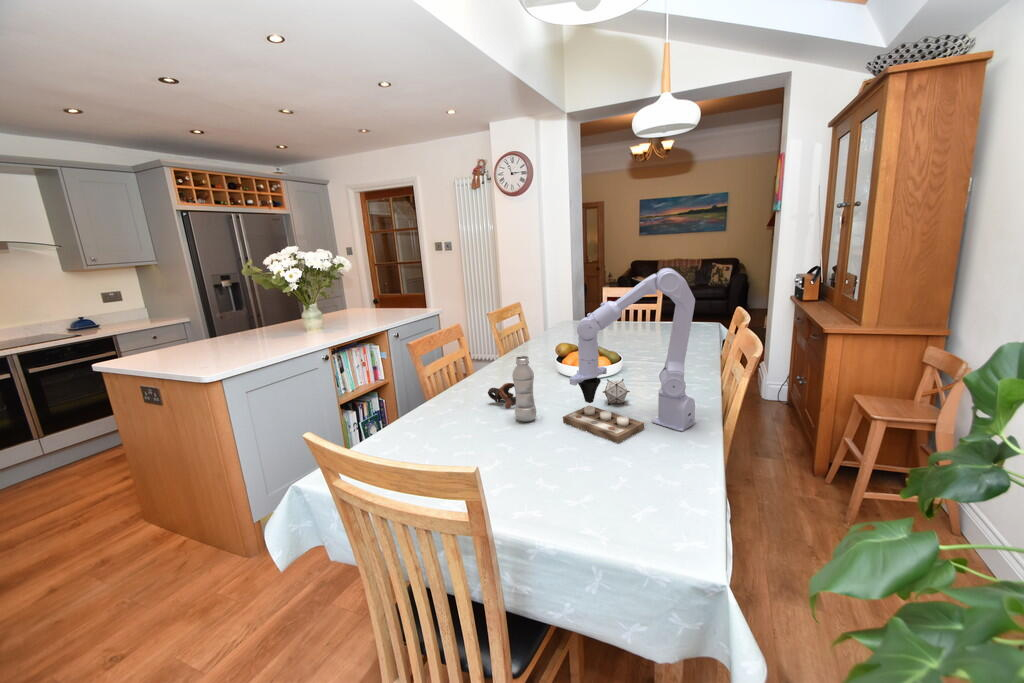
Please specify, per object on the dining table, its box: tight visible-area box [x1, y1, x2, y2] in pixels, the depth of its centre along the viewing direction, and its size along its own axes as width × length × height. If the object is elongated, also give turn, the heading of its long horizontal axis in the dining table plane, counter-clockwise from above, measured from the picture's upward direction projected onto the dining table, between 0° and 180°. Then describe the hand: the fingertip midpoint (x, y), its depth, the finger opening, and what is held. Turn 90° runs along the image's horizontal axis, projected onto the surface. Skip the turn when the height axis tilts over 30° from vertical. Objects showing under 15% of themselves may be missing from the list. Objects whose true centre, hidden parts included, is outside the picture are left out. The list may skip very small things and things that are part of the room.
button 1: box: [583, 405, 595, 416], centre depth 132 cm, size 3×3×2 cm
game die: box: [602, 378, 631, 406], centre depth 143 cm, size 9×8×10 cm
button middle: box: [600, 410, 612, 422], centre depth 128 cm, size 3×3×2 cm
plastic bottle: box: [511, 355, 538, 423], centre depth 133 cm, size 6×7×20 cm
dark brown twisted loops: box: [487, 382, 516, 409], centre depth 148 cm, size 12×10×8 cm
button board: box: [562, 404, 645, 444], centre depth 127 cm, size 20×12×2 cm, turn 40°
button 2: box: [617, 416, 629, 428], centre depth 123 cm, size 3×3×2 cm
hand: (589, 401), depth 131 cm, fingers closed
